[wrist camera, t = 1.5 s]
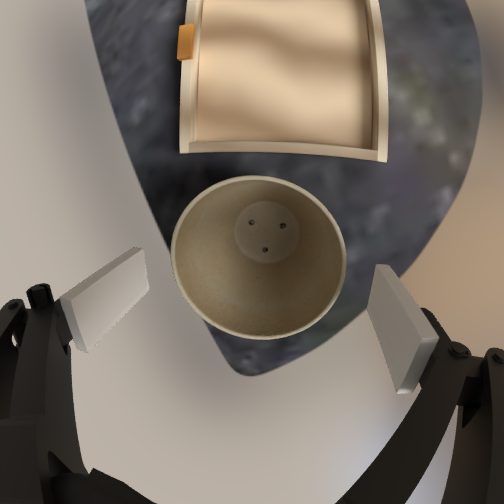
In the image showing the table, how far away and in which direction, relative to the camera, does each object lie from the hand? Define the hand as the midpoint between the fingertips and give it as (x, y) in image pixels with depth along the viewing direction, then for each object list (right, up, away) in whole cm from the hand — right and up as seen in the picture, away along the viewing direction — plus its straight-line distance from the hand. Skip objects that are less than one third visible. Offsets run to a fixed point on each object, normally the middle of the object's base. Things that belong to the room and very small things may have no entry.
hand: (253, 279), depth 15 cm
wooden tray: (+2, +19, +1) cm, 19 cm away
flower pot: (+1, +3, +7) cm, 8 cm away
